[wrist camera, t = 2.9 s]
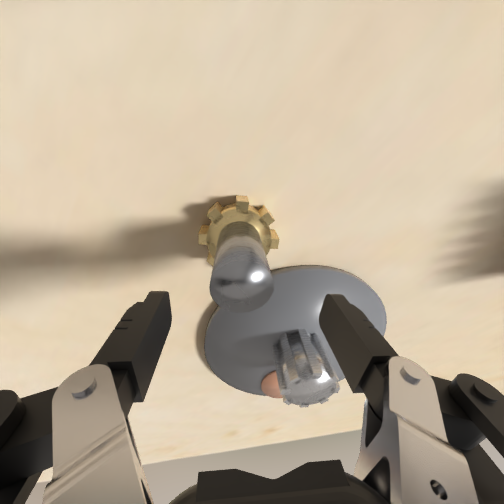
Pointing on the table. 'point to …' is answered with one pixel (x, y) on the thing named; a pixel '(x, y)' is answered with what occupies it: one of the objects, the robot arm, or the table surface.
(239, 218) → the planet gear
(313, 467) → the robot arm
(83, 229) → the table surface
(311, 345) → the carrier plate
